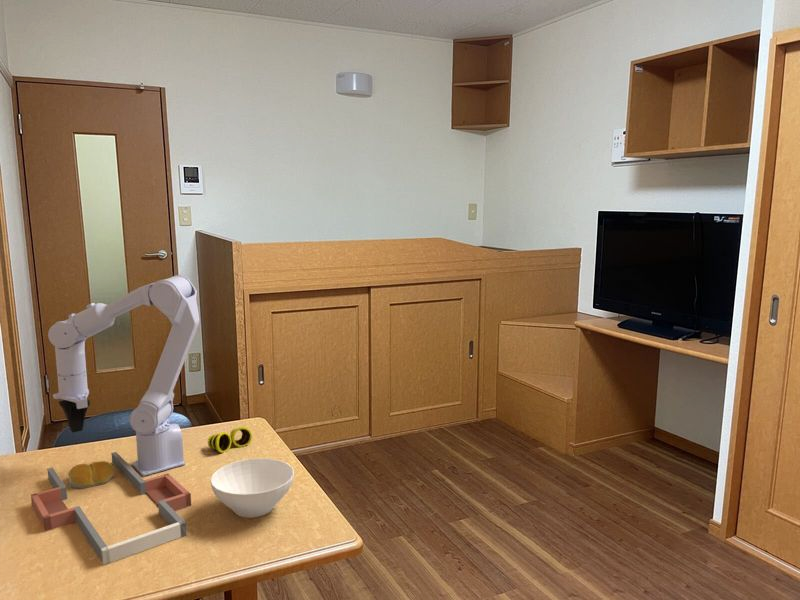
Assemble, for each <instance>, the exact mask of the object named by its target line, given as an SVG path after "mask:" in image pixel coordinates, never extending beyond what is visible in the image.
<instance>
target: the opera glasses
mask: <svg viewBox="0 0 800 600" xmlns="http://www.w3.org/2000/svg"><path fill="white" fill-rule="evenodd" d="M238 431H240V432H241V437H240V438H239V439H237V440H236V439H235V438H236V437H235V435H236V434H237V432H238ZM252 439H253V432H252V430H251V429H249V428H248V427H245V426H239V427H237V428H236V427H235V428H233V429H232V430H231V431H230V433H228V432H226V431H222V432H219V433H215V434H211V435H210V436H209V437H208V439H207V446H208V447H209V448H210V449H212V450H215V451H216V452H219V453H221V454H224V452H225V453H227V452H228V451H229V450H230V448H231V446H232V443H233V444H234V446H236V447H238V448H243V447H242V446H245V447H247V446H249V444H251V442H252ZM246 445H247V446H246Z"/></svg>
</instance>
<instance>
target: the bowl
mask: <svg viewBox="0 0 800 600" xmlns="http://www.w3.org/2000/svg"><path fill="white" fill-rule="evenodd" d="M294 477H295V470H294V468H293V466H291V465H290V464H289V463H287V462H286V461H282V460H279V459H275V458H270V457H269V458H264V457H258V458H246V459H242V460H237V461H234V462H230V463H227V464H226V465H224V466H222V467H219V468H217V469H216V470H215V471H214V472H213V474H211V476H210V486H211V489H212V491H213V494H214V495H215V497H216V498H217V499H218V500H219V501H220V502H221V503H222V504H224V505H225V506H227V507H228V508H229V509H230V510H231V511H233V512H234V514H236V515H237V516H239V517H241V518H247V519H248V518H249V519H253V518H260V517H264V516H265V515H267V514H268V513H270V512H271V511H273V509H274V507H276V505H277V504H278V503H279V502H280V500H282V499H283V498H284V497H285V495H286V494H287V493H288V491H289V490H290V488H291V486H292V484H293V483H294V480H295V479H294Z"/></svg>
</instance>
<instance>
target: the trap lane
mask: <svg viewBox="0 0 800 600" xmlns="http://www.w3.org/2000/svg"><path fill="white" fill-rule="evenodd" d="M111 463H112V466H113V467H115V468H116V469H117V470H118V471H119V472H120V473H121V475H122V476H123V477H124V478H125V479H126V480H127V481H128V482H129V483H130V484H131V485H132V486H133V488H135V489H136V491H138V493H140V495H141V496H142V495H146V494H147V496H148V497H150V499H151V500H152V501H153V502H154V503H155V504H156V505H157V506H158V514H159V516H161V518H162V519H163V520H165V522H166V523H167V524H168V525H166V526H163V527H160V528H157V529H154V530H151V531H149V532H148V531H147V532H145V533H143V534H140V535H137V536H133V537H131V538H128V539H126V540H121V541H119V542H116V543H114V544H110V545H108V546H107V544H106V542H105V541H104V540H103V538H102V537H101V536H100V534H99V533H98V531H97V530H96V528H95V527H94V525H93V524H92V522H91V521H90V519H89V518H88V516H86V514H85V512H84V510H83V509H81V506H80V505H78V506H74V507H70V508H68V507H67V506H66V504H65V502H64V500H67V499H68V495H67V494H68V493H67V486H66V485H65V483H64V482H63V481H62V479H61V478H60V476H59V475H58V473H57V472H56V470H55V469H54V467H48V468H46V469H47V480H48V482H49V483H50V484H51V486H52V488H51V489H47V490H43V491H39V492H36V493H32V494H30V499H31V506H32V508H33V511H34V513H35V514H36V517H37V518H38V520H39V523H41V526H42V528H43V530H44V531H45V532H48V531H51V530H53V529H56V528H60V527H64V526H67V525H70V523H71V524H74V523H76V525H77V526H78V528H79V530H80V531H81V532H82V535H83V536H84V538H85V539H86V540H87V542H88V544H89V545H90V547H91V549H92V550H93V551H94V553H95V554H96V556H97V557H98V560H99V561H100V562H101V563H102V565H103V566H105V565H108V564H110V563H114V562H115V561H116V562H117V561H118V560H121V559H125V558H127V557H130V556H133V555H136V554H138V553H141V552H143V551H146V550H149V549H152V548H155V547H157V546H158V547H159V546H161V545H164V544H165V543H168V542H172V541H174V540H177V539H180V538H183V537H185V536H187V523H186V521H185V520H184V518H182V517H181V516H180V515H179V514H178V513H177V512H176V511H179V510H182V509H185V508H187V507H192V494H191V493H190V492H189V491H188V490H187V489H186V488H185V487H184V486H183V485H181V483H179V482H178V481H177V480H176V479H175V478H174V477H173V476H172V475H171V474H170V473H165V474H161V475H157V476H155V477H150V478H148V479H143V478H142V477H141V476H140V474H138V472H137V471H135V468H134V467H133V466H131V465H130V464H129V463H128V462H127V461H125V459H124V458H123V457H122V456H121V455H120V454H119V453H118V452H117V451H113V452H111ZM73 522H74V523H73Z"/></svg>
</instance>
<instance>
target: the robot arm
mask: <svg viewBox="0 0 800 600" xmlns="http://www.w3.org/2000/svg"><path fill="white" fill-rule="evenodd" d="M197 294H198V291H197V289H196V287H195V286H194V284H193V283H192V281H191V280H190V279H189V278H188V277H186V276H184V275H181V274H175V275H173V276H171V277H169V278H166V279H160V280H157V281H155V282H153V283H149V284H146V285H143V286H140V287H137V288H136V289H134V290H132V291H130V292H129V293H127V294H125V295H123V296H122V297H119V298H117V299H115V300H114V301H113V302H110V303H109V304H106V303H102V302H97V303H95V302H91V303H89V304H87V305H85V306H86V309H84V310H82V311H79V312H78V313H71V314H69V315H68V319H65V320H61V321H56V322H55V323H54V324H53V325H52V326H51V327H50V328H49V330H48V333H47V334H48V335H47V338H48V340H49V342H50V344H51V345H53V346H54V351H55V353H54V354H55V363H56V365H55V366H56V373H57V387H58V388H57V389H58V392H57V393H54V394H52V397H53V399H55V400H58V399H61V400H60V401H58V404H59V407H61V408H62V410H63V412H64V415H65V418H66V421H67V424H68V428H69V429H70V431H71V433H73V434H74V433H76V432H78V433H79V432H82V431H83V429H84V424H85V419H86V418H85V417H86V413H87V411H88V408H90V405H91V400H90V399H88V396H89V394H90V389H89V388H88V386H89V385H88V375H87V363H86V351H85V347H86V344H85V343H86V340H87V339H88V338H90V337H93V336H94V335H97V334H98V333H100V332H102V331H104V330H106V329H108V328H110V327H112V326H113V325H114V323H115V319H116V317H119V316H120V315H123V314H125V313H127V312H129V311H131V310H134V309H135V308H137V307H138V308H139V307H140V306H142V305H144V306H148V307H151V306H153V305H154V306H155V308H157V309H158V310H159V311H160V312H161V313H163V314H164V315H165V316H166V317H167V318H168V320H169V322H170V323H171V329H170V330H169V334H168V336H167V339H166V342H165V344H164V347H163V350H162V352H161V354H160V358H159V361H158V363H157V365H156V367H155V371H154V373H153V376H152V378H151V380H150V381H151V382H150V383H149V384H150V385H149V386H148V389H147V390H146V392H145V393H144V395H142V398H141V399H140V402H139V404H138V405H137V407H135V409H133V410H132V412H131V413H130V415H129V424H130V427H131V428H132V429H133V430H134V431H135V439H136V440H135V441H136V457H137V460H136V461H133V462H132V463H131V465H132V467H133V468H134V469H135V470H137V471H138V472H139V473H140V475H142V476H143V477H145V476H149V475H152V474H156V473H159V472H163V471H166V470H169V469H174V468H177V467H180V466H184V465H186V462H185V460H184V459H185V458H184V440H183V439H184V438H183V433H182V430H181V429H182V428H180V426H179V424H178V423H170V417H171V416H172V414H173V411H174V403H173V401H174V398H175V393H174V389H175V387H176V384H177V381H178V380H179V376H180V373H181V371H182V369H183V366H184V363H185V360H186V358H187V355H188V353H189V350H190V347H191V344H192V343H193V341H194V337H195V335H196V333H197V329H198V328H199V325H200V315H199V308H198V302H197Z"/></svg>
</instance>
